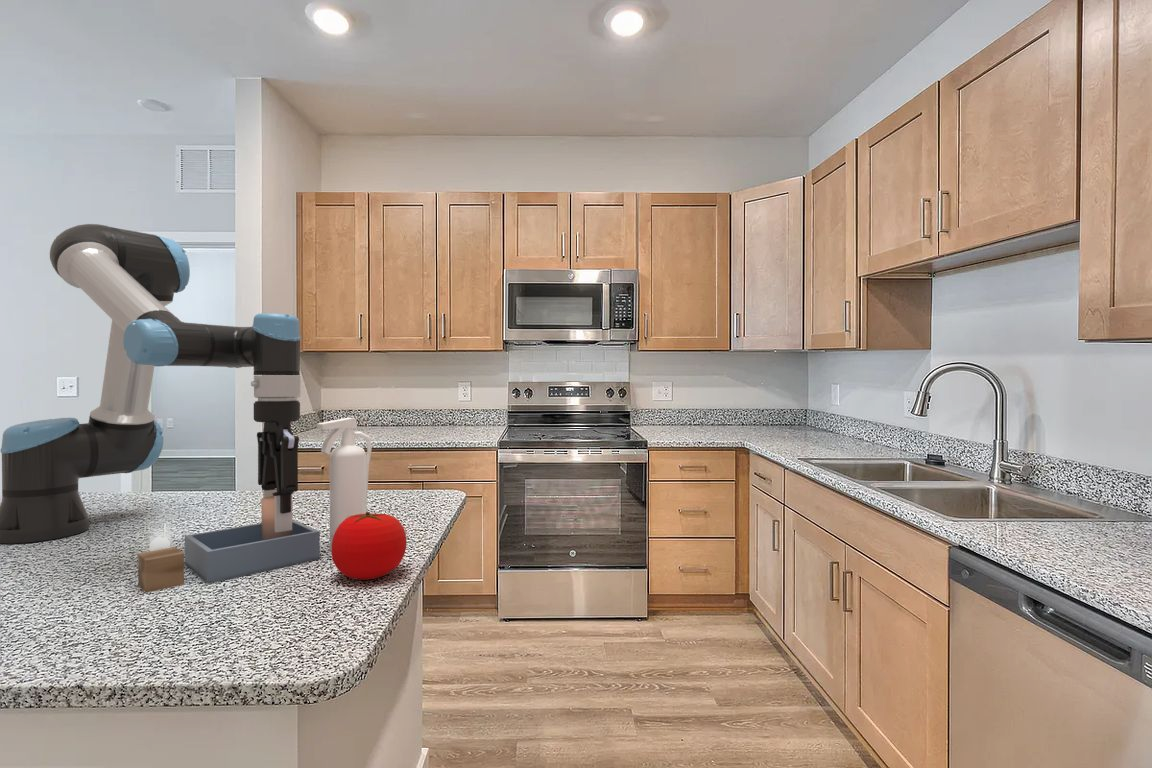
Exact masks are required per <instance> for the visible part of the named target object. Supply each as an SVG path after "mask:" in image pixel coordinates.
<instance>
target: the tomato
mask: <svg viewBox="0 0 1152 768" xmlns="http://www.w3.org/2000/svg"><path fill="white" fill-rule="evenodd" d="M406 549H407V533H406V530H405V528H404V526H403V524H402V522H400V520H399V519H398V518H396V517H395V516H393V515H391V514H387V513H375V512H374V513H371V512H370V511H368V512H366V514H356V515H353V516H351V517H348V518H346V519H345V520H344V521H343V522H342V523H340V525H339V526H338V528H337V529H336V531H335V534H334V536H333V540H332V549H331V551H330V552H331V559H332V562H333V564H334V566H335V568H336V569H337V570H338V571H339V572H340V573H341V574H342V575H343V576H345V577H347V578H349V579H353V580H360V581H364V580H365V581H367V580H368V581H369V580H373V579H377V578H381V577H383V576H386V575H388V574H389V573H390V572H392V571H393V570H394V569H396V568H397V567H398V566H399V565H400V564H401V562H402V561H403V558H404V556H405V553H406Z"/></svg>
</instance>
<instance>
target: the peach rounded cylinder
mask: <svg viewBox="0 0 1152 768" xmlns="http://www.w3.org/2000/svg"><path fill="white" fill-rule="evenodd" d="M260 500H261V517H260V518H261V522H260V523H261V538H262V539H264V540H269V539H274V538H280V537H285V536H291V535H292V530H288V531H282V532H277V533H276V532H275V496H268V497H264V498H263V497H262V498H261V499H260Z"/></svg>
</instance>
